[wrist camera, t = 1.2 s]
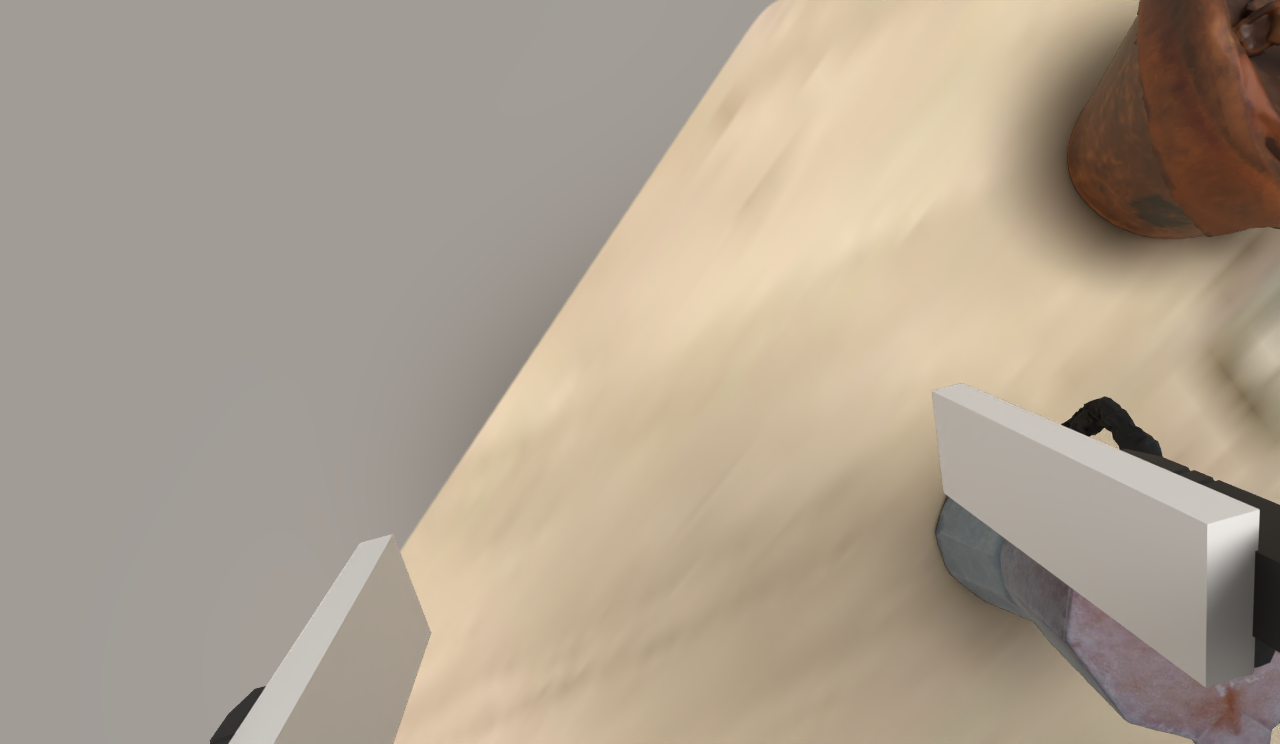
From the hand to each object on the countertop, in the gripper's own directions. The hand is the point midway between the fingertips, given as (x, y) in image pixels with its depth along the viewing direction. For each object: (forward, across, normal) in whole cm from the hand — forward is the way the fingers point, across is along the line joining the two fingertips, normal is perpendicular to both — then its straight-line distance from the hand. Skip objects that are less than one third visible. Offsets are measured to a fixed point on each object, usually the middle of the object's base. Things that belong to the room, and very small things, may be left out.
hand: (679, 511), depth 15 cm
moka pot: (+21, -22, +19) cm, 36 cm away
